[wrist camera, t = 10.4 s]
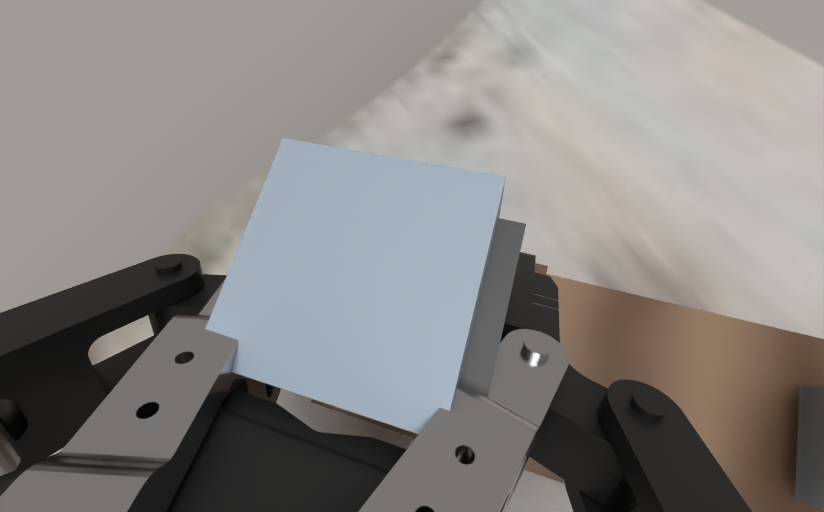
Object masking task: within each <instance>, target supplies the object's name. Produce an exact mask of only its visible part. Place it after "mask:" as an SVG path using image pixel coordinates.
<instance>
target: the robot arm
mask: <svg viewBox="0 0 824 512" xmlns="http://www.w3.org/2000/svg"><path fill="white" fill-rule="evenodd" d="M535 257H536V256H535V255H531V254H526V253H522V252H520V254H519V258H518V263H517V268H516V272H515V277H514V281H513V286H512V290H511V295H510V300H509V304H508V309H507V313H506V318H505V323H504V327H503V332H502V336H501V341H500V345H499V350H498V355H497V359H496V364H495V368H494V373H493V378H492V382H491V387H490V391H489V396H487V395H485V394H482V393H480V392H478V391H476V390H475V389H473V388H471V387H469V386H468V385H466V384H464V383H460V384H459V385H458V386H457V387H456V390H455V393H454V397H453V401H452V404H451V408H450V411H449V410H446V409H443V408H439V409H438V410H437V412H436V413H435V414H434V415H433V417H432V418H431V419H430V421H429V422H428V423H427V424H426V426H425V427H424V428H423V430H422V431H421V432H420V433H419V435H418V436H417V437H416V438H415V440H414V441H413V442H412V444H411V445H410V446H409V447H408V449H407V450H406V449H403V448H400V447H398V446H395V445H392V444H389V443H386V442H384V441H381V440H378V439H375V438H371V437H361V436H350V435H340V434H330V433H321V432H317V431H315V430H313V429H311V428H310V427H308V426H307V425H306V424H304V423H303V422H302V421H300V420H299V419H297V418H296V417H295V416H293V415H292V414H290V413H289V412H288V411H286V410H285V409H284V408H282V407H281V406H279V405H278V404H276V401H277V398H278V396H279V393H280V390H281V388H278V387H275V386H272V385H269V384H266V383H263V382H260V381H257V380H254V379H251V378H248V377H245V376H242V375H239V374H236V373H233V372H232V370H233V365H234V360H235V355H236V350H237V344H238V340H237V339H234V338H231V337H228V336H225V335H222V334H219V333H216V332H213V331H210V330H207V329H205V328H206V326H207V323H208V321H209V319H210V316H211V314H212V311H213V309H214V306H215V304H216V301H217V299H218V296H219V294H220V292H221V289H222V287H223V284H224V282H225V279H226V277H227V275H208V274H202V269H201V265H200V261H199V260H198V259H197V258H196V257H194V256H191V255H186V254H170V255H164V256H159V257H156V258H153V259H150V260H147V261H145V262H142V263H139V264H136V265H133V266H131V267H128V268H125V269H122V270H119V271H117V272H114V273H111V274H108V275H105V276H103V277H100V278H97V279H94V280H91V281H89V282H86V283H83V284H80V285H77V286H75V287H72V288H69V289H66V290H63V291H61V292H58V293H55V294H52V295H49V296H47V297H44V298H41V299H38V300H36V301H33V302H30V303H27V304H24V305H21V306H19V307H16V308H13V309H10V310H8V311H5V312H2V313H0V512H505V511H506V508H507V506H508V504H509V502H510V500H511V497H512V495H513V493H514V491H515V489H516V486H517V484H518V482H519V480H520V478H521V475H522V473H523V471H524V469H525V467H526V464H527V462H528V460H529V458H532V459H533V460H535V461H536V462H538V463H539V464H541V465H542V466H544V467H545V468H547V469H548V470H550V471H551V472H553V473H554V474H556V475H557V476H559V477H560V478H562V479H563V480H565V486H566V490H567V493H568V496H569V499H570V502H571V505H572V508H573V511H574V512H752V511H751V509H750V508H749V506H748V505H747V504H746V502H745V501H744V499H743V498H742V496H741V495H740V493H739V492H738V491H737V489H736V488H735V486H734V485H733V483H732V482H731V480H730V479H729V478H728V476H727V475H726V473H725V472H724V470H723V469H722V467H721V466H720V465H719V463H718V462H717V460H716V459H715V457H714V456H713V455H712V453H711V452H710V450H709V449H708V447H707V446H706V444H705V443H704V442H703V440H702V439H701V437H700V436H699V434H698V433H697V431H696V430H695V429H694V427H693V426H692V424H691V423H690V421H689V420H688V418H687V417H686V416H685V414H684V413H683V411H682V410H681V409H680V407H679V406H678V405H677V404H676V403H675V402H674V401H673V400H672V399H671V398H669V397H668V396H667V395H666V394H664V393H663V392H661V391H660V390H658V389H656V388H654V387H652V386H650V385H648V384H645V383H643V382H639V381H636V380H626V379H623V380H618V381H615V382H613V383H612V384H611V385H610V386H609V388H606V387H604V386H602V385H600V384H598V383H596V382H594V381H592V380H591V379H589V378H587V377H585V376H583V375H582V374H581V373H579V372H578V371H576V370H575V369H574V368H573V367H572V366H571V365H570V364H569V357H568V354H567V352H566V350H565V349H564V347H563V346H562V345H561V344H560V329H559V310H558V309H559V301H558V299H559V297H558V287H557V285H556V284H555V282H554V281H553V279H552V278H551V276H547V275H543V274H539V273H535ZM147 315H148V316H149V319H150V322H151V326H152V329H153V332H154V336H152V337H150V338H148V339H146V340H144V341H142V342H140V343H138V344H136V345H134V346H132V347H130V348H128V349H126V350H124V351H122V352H120V353H118V354H116V355H114V356H112V357H110V358H108V359H106V360H104V361H102V362H100V363H98V364H95V365H92V364H91V362H90V359H89V357H88V351H89V348H90V346H91V345H92V343H93V342H94V341H95V340H97V339H98V338H99V337H101V336H103V335H105V334H107V333H109V332H112V331H114V330H116V329H118V328H120V327H123V326H125V325H127V324H129V323H131V322H134V321H136V320H138V319H140V318H142V317H145V316H147ZM63 447H64V448H63ZM62 448H63V449H62ZM60 449H62V450H61V451H60V452H58V453H57V454H55V455H52V454H53V453H55V452H57V451H58V450H60ZM50 455H52V456H50ZM48 456H49V457H48Z"/></svg>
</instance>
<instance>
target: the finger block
mask: <svg viewBox="0 0 824 512" xmlns="http://www.w3.org/2000/svg"><path fill="white" fill-rule="evenodd" d="M505 179H506V177H503V176H497V175H492V174H486V173H480V172H475V171H469V170H463V169H457V168H452V167H446V166H440V165H434V164H429V163H423V162H417V161H412V160H406V159H400V158H394V157H389V156H383V155H377V154H372V153H366V152H360V151H354V150H349V149H343V148H337V147H332V146H326V145H320V144H314V143H309V142H303V141H297V140H292V139H286V138H283V140H282V142H281V144H280V147H279V149H278V152H277V154H276V157H275V159H274V162H273V164H272V167H271V169H270V171H269V174H268V176H267V179H266V181H265V184H264V186H263V189H262V191H261V193H260V196H259V198H258V201H257V203H256V206H255V208H254V211H253V213H252V216H251V218H250V220H249V223H248V225H247V228H246V230H245V233H244V235H243V238H242V240H241V243H240V245H239V247H238V250H237V252H236V255H235V257H234V260H233V262H232V265H231V267H230V269H229V272H228V274H227V277H226V279H225V282H224V284H223V287H222V289H221V292H220V294H219V296H218V299H217V301H216V304H215V306H214V309H213V311H212V314H211V316H210V319H209V321H208V323H207V326H206V328H205V329H207V330H210V331H213V332H216V333H219V334H222V335H225V336H228V337H231V338H234V339H237V340H238V344H237V350H236V355H235V360H234V365H233V370H232V372H233V373H236V374H239V375H242V376H245V377H248V378H251V379H254V380H257V381H260V382H263V383H266V384H269V385H272V386H275V387H278V388H281V389H284V390H287V391H290V392H293V393H296V394H299V395H302V396H305V397H308V398H311V399H314V400H317V401H320V402H323V403H326V404H329V405H332V406H335V407H338V408H341V409H344V410H347V411H350V412H353V413H356V414H359V415H362V416H365V417H368V418H371V419H374V420H377V421H380V422H383V423H386V424H389V425H392V426H395V427H398V428H401V429H404V430H407V431H410V432H413V433H416V434H419V433H420V432H421V431H422V430H423V428H424V427H425V426H426V424H427V423H428V422H429V421H430V419H431V418H432V417H433V415H434V414H435V413H436V412H437V410H438V409H439V408H443V409H446V410H449V411H450V408H451V404H452V401H453V397H454V393H455V390H456V387H457V386H458V385H459V384H460V383H464V384H466V385H468V386H469V387H471V388H473V389H475V390H476V391H478V392H480V393H482V394H485V395H487V396H489V391H490V387H491V382H492V378H493V373H494V368H495V364H496V359H497V355H498V350H499V345H500V341H501V336H502V332H503V327H504V323H505V318H506V313H507V309H508V304H509V300H510V295H511V290H512V286H513V281H514V277H515V272H516V268H517V263H518V258H519V254H520V249H521V245H522V240H523V235H524V231H525V226H526V224H524V223H519V222H514V221H509V220H504V219H499V215H500V209H501V203H502V197H503V191H504V185H505Z"/></svg>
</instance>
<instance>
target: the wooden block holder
mask: <svg viewBox="0 0 824 512" xmlns="http://www.w3.org/2000/svg"><path fill="white" fill-rule="evenodd" d="M547 267H548V266H545V265H540V264H536V263H535V273H539V274H543V275H547V276H551V278H552V279H553V281H554V282H555V284H556V285H557V287H558V297H559V299H558V301H559V309H558V310H559V329H560V344H561V345H562V346H563V347H564V349H565V350H566V352H567V354H568V357H569V364H570V365H571V366H572V367H573V368H574V369H575V370H576V371H578V372H579V373H581V374H582V375H583V376H585V377H587V378H589V379H591V380H592V381H594V382H596V383H598V384H600V385H602V386H604V387H606V388H609V386H610V385H611V384H612V383H613V382H615V381H618V380H623V379H626V380H636V381H639V382H643V383H645V384H648V385H650V386H652V387H654V388H656V389H658V390H660V391H661V392H663V393H664V394H666V395H667V396H668V397H669V398H671V399H672V400H673V401H674V402H675V403H676V404H677V405H678V406H679V407H680V409H681V410H682V411H683V413H684V414H685V416H686V417H687V418H688V420H689V421H690V423H691V424H692V426H693V427H694V429H695V430H696V431H697V433H698V434H699V436H700V437H701V439H702V440H703V442H704V443H705V444H706V446H707V447H708V449H709V450H710V452H711V453H712V455H713V456H714V457H715V459H716V460H717V462H718V463H719V465H720V466H721V467H722V469H723V470H724V472H725V473H726V475H727V476H728V478H729V479H730V480H731V482H732V483H733V485H734V486H735V488H736V489H737V491H738V492H739V493H740V495H741V496H742V498H743V499H744V501H745V502H746V504H747V505H748V506H749V508H750V509H751V511H752V512H824V339H820V338H816V337H812V336H808V335H803V334H799V333H795V332H791V331H786V330H782V329H778V328H774V327H769V326H765V325H761V324H757V323H752V322H748V321H744V320H740V319H735V318H731V317H727V316H723V315H718V314H714V313H710V312H706V311H701V310H697V309H693V308H689V307H684V306H680V305H676V304H672V303H667V302H663V301H659V300H655V299H650V298H646V297H642V296H638V295H633V294H629V293H625V292H621V291H616V290H612V289H608V288H604V287H599V286H595V285H591V284H587V283H583V282H578V281H574V280H570V279H566V278H561V277H557V276H553V275H549V274H546V272H547ZM311 402H313V403H316V404H319V405H322V406H324V407H327V408H330V409H333V410H336V411H339V412H342V413H345V414H348V415H350V416H353V417H356V418H359V419H362V420H365V421H368V422H371V423H374V424H377V425H379V426H382V427H385V428H388V429H391V430H394V431H397V432H400V433H403V434H405V435H408V436H411V437H414V438H416V437H417V436H418V435H419V434H416V433H413V432H410V431H407V430H404V429H401V428H398V427H395V426H392V425H389V424H386V423H383V422H380V421H377V420H374V419H371V418H368V417H365V416H362V415H359V414H356V413H353V412H350V411H347V410H344V409H341V408H338V407H335V406H332V405H329V404H326V403H323V402H320V401H317V400H314V399H312V401H311ZM525 470H528V471H530V472H533V473H536V474H539V475H542V476H545V477H548V478H551V479H554V480H557V481H560V482H563V483H565V480H563V479H562V478H560V477H559V476H557V475H556V474H554V473H553V472H551V471H550V470H548V469H547V468H545V467H544V466H542V465H541V464H539V463H538V462H536V461H535V460H533V459H532V458H529V460H528V462H527V464H526V467H525Z"/></svg>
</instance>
